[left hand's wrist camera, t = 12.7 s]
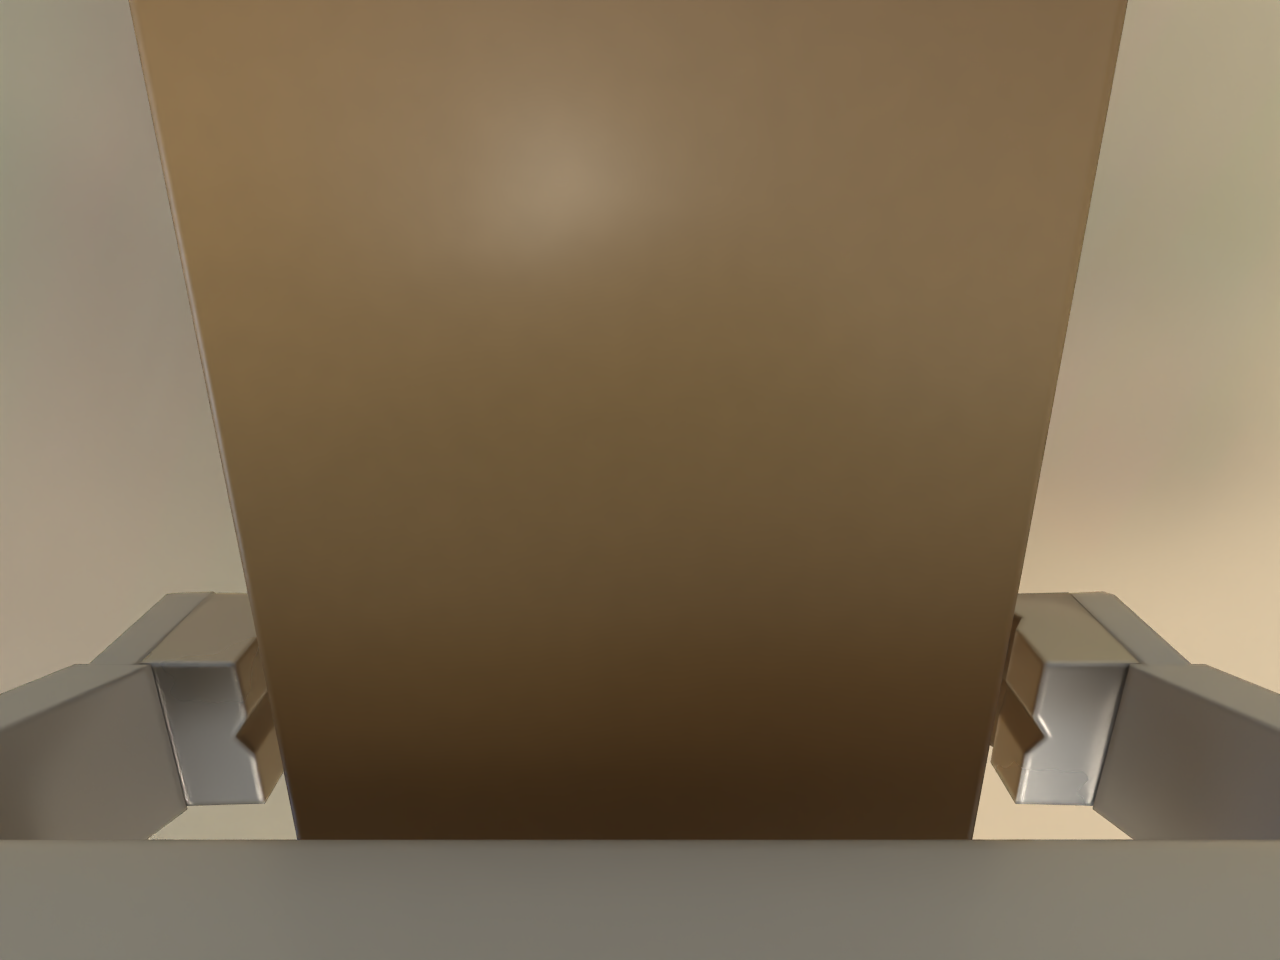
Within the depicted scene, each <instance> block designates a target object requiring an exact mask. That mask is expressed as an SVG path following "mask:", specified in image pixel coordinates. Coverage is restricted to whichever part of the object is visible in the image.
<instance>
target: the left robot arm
mask: <svg viewBox="0 0 1280 960" xmlns="http://www.w3.org/2000/svg"><path fill="white" fill-rule="evenodd" d="M990 745H991V746H992V747H993V751H992V757H991V764H992V765H993V767H994V769H995V770H996V772H997V774H998V775H999V777H1000V779H1001V780H1002V782H1003V784H1004V785H1005V787H1006V789H1007V790H1008V792H1009V794H1010V795H1011V797H1012V799H1013V800H1014V802H1015V804H1050V805H1087V806H1093V810H1095V811H1096V812H1097V813H1099V814H1100V815H1101V816H1103V817H1104V818H1105V819H1107V820H1108V821H1109V822H1111V823H1112V824H1113V825H1115V826H1116V827H1118V828H1119V829H1120V830H1122V831H1123V832H1124V833H1126V834H1127V835H1128V836H1130V837H1131V838H1132V839H1134V840H147V839H148V838H149V837H151V836H152V835H153V834H155V833H156V832H157V831H159V830H160V829H161V828H163V827H164V826H165V825H167V824H168V823H169V822H171V821H172V820H174V819H175V818H176V817H178V816H179V815H180V814H182V813H183V812H184V811H186V810H187V806H193V805H228V804H264V803H265V802H266V801H267V799H268V797H269V796H270V794H271V792H272V790H273V789H274V787H275V785H276V784H277V782H278V780H279V779H280V777H281V775H282V774H283V772H284V770H283V765H282V760H281V755H280V750H279V745H278V741H277V736H276V731H275V726H274V721H273V716H272V711H271V706H270V701H269V696H268V691H267V686H266V681H265V676H264V671H263V666H262V661H261V656H260V651H259V646H258V641H257V636H256V631H255V626H254V621H253V616H252V611H251V606H250V601H249V596H248V593H215V592H186V593H171V594H166V595H165V596H164V597H163V598H162V599H161V600H160V601H159V602H157V603H156V604H155V605H154V606H153V607H152V608H151V609H150V610H149V611H147V612H146V613H145V614H144V615H143V616H142V617H141V618H140V619H139V620H137V621H136V622H135V623H134V624H133V625H132V626H131V627H130V628H128V629H127V630H126V631H125V632H124V633H123V634H122V635H121V636H120V637H118V638H117V639H116V640H115V641H114V642H113V643H112V644H111V645H110V646H108V647H107V648H106V649H105V650H104V651H103V652H102V653H101V654H99V655H98V656H97V657H96V658H95V659H94V660H93V661H92V662H91V663H89V664H74V665H72V666H69V667H67V668H64V669H62V670H59V671H57V672H54V673H52V674H49V675H47V676H44V677H42V678H39V679H37V680H34V681H32V682H29V683H27V684H24V685H22V686H19V687H17V688H14V689H12V690H9V691H7V692H4V693H2V694H0V960H1280V694H1278V693H1275V692H1273V691H1270V690H1268V689H1265V688H1263V687H1260V686H1258V685H1256V684H1253V683H1251V682H1248V681H1246V680H1243V679H1241V678H1238V677H1236V676H1233V675H1231V674H1228V673H1226V672H1223V671H1221V670H1218V669H1216V668H1213V667H1211V666H1208V665H1206V664H1191V663H1190V662H1188V661H1187V660H1186V659H1185V658H1184V657H1183V656H1182V655H1181V654H1180V653H1178V652H1177V651H1176V650H1175V649H1174V648H1173V647H1172V646H1171V645H1170V644H1168V643H1167V642H1166V641H1165V640H1164V639H1163V638H1162V637H1161V636H1159V635H1158V634H1157V633H1156V632H1155V631H1154V630H1153V629H1152V628H1151V627H1149V626H1148V625H1147V624H1146V623H1145V622H1144V621H1143V620H1142V619H1141V618H1139V617H1138V616H1137V615H1136V614H1135V613H1134V612H1133V611H1132V610H1131V609H1129V608H1128V607H1127V606H1126V605H1125V604H1124V603H1123V602H1122V601H1121V600H1119V599H1118V598H1117V597H1116V596H1115V595H1113V594H1110V593H1106V592H1081V593H1026V594H1018V595H1017V600H1016V606H1015V611H1014V617H1013V622H1012V627H1011V633H1010V638H1009V644H1008V649H1007V654H1006V660H1005V665H1004V671H1003V676H1002V681H1001V687H1000V692H999V698H998V703H997V708H996V714H995V719H994V724H993V730H992V735H991V741H990Z"/></svg>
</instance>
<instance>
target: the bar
mask: <svg viewBox="0 0 1280 960" xmlns="http://www.w3.org/2000/svg"><path fill="white" fill-rule="evenodd" d="M1127 2H1128V0H129V5H130V10H131V15H132V20H133V25H134V30H135V35H136V40H137V45H138V50H139V55H140V60H141V65H142V70H143V75H144V80H145V85H146V90H147V95H148V99H149V104H150V109H151V114H152V119H153V124H154V129H155V134H156V139H157V144H158V149H159V154H160V159H161V164H162V169H163V174H164V179H165V184H166V189H167V194H168V199H169V204H170V209H171V214H172V219H173V224H174V229H175V234H176V239H177V244H178V249H179V254H180V258H181V263H182V268H183V273H184V278H185V283H186V288H187V293H188V298H189V303H190V308H191V313H192V318H193V323H194V328H195V333H196V338H197V343H198V348H199V353H200V358H201V363H202V368H203V373H204V378H205V383H206V388H207V393H208V398H209V403H210V408H211V413H212V418H213V422H214V427H215V432H216V437H217V442H218V447H219V452H220V457H221V462H222V467H223V472H224V477H225V482H226V487H227V492H228V497H229V502H230V507H231V512H232V517H233V522H234V527H235V532H236V537H237V542H238V547H239V552H240V557H241V562H242V567H243V572H244V577H245V581H246V586H247V591H248V596H249V601H250V606H251V611H252V616H253V621H254V626H255V631H256V636H257V641H258V646H259V651H260V656H261V661H262V666H263V671H264V676H265V681H266V686H267V691H268V696H269V701H270V706H271V711H272V716H273V721H274V726H275V731H276V736H277V741H278V745H279V750H280V755H281V760H282V765H283V770H284V775H285V780H286V785H287V790H288V795H289V800H290V805H291V810H292V815H293V820H294V825H295V830H296V835H297V840H972V838H973V832H974V827H975V821H976V816H977V811H978V805H979V800H980V795H981V789H982V784H983V778H984V773H985V768H986V762H987V757H988V751H989V746H990V741H991V735H992V730H993V724H994V719H995V714H996V708H997V703H998V698H999V692H1000V687H1001V681H1002V676H1003V671H1004V665H1005V660H1006V654H1007V649H1008V644H1009V638H1010V633H1011V627H1012V622H1013V617H1014V611H1015V606H1016V600H1017V595H1018V590H1019V584H1020V579H1021V574H1022V568H1023V563H1024V557H1025V552H1026V547H1027V541H1028V536H1029V530H1030V525H1031V520H1032V514H1033V509H1034V503H1035V498H1036V493H1037V487H1038V482H1039V477H1040V471H1041V466H1042V460H1043V455H1044V450H1045V444H1046V439H1047V433H1048V428H1049V423H1050V417H1051V412H1052V406H1053V401H1054V396H1055V390H1056V385H1057V380H1058V374H1059V369H1060V363H1061V358H1062V353H1063V347H1064V342H1065V336H1066V331H1067V326H1068V320H1069V315H1070V309H1071V304H1072V299H1073V293H1074V288H1075V283H1076V277H1077V272H1078V266H1079V261H1080V256H1081V250H1082V245H1083V239H1084V234H1085V229H1086V223H1087V218H1088V212H1089V207H1090V202H1091V196H1092V191H1093V186H1094V180H1095V175H1096V169H1097V164H1098V159H1099V153H1100V148H1101V142H1102V137H1103V132H1104V126H1105V121H1106V115H1107V110H1108V105H1109V99H1110V94H1111V89H1112V83H1113V78H1114V72H1115V67H1116V62H1117V56H1118V51H1119V45H1120V40H1121V35H1122V29H1123V24H1124V18H1125V13H1126V8H1127Z"/></svg>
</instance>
